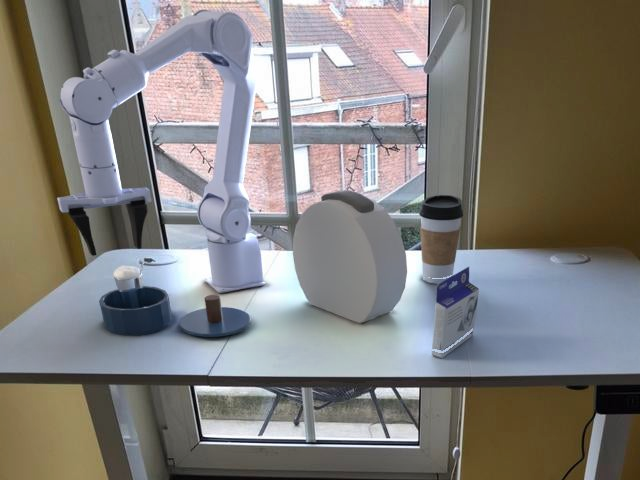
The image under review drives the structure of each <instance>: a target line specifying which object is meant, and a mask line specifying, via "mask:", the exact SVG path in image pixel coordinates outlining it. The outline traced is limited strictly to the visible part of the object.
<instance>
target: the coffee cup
mask: <svg viewBox="0 0 640 480" xmlns="http://www.w3.org/2000/svg"><path fill="white" fill-rule="evenodd" d="M462 202H463V201H462V198H460V197H459V196H455V195H451V194H435V195H432V196H428V197H426V198H424V199H423V200H422V201H421V206H420V209H419V212H418V215H419V217H420V218H421V219H420V228H419V229H420V249H421V250H420V251H421V264H422V265H421V266H422V267H421V268H422V269H421V271H422V280H423V281H424V282H426V283H428V284H429V283H430V284H436V285H438V284H440V283H441V282H443V281H445V280H446V279H448V278H446V279H432V278H443V277H447V276H450V275H452V274H453V275H454V269H455V262H456V257H457V250H458V245H459V239H460V232H461V219H462V218H463V217H464V210H463V204H462ZM453 275H452V276H453ZM425 276H426V277H425ZM428 277H430V278H428ZM449 278H450V277H449Z"/></svg>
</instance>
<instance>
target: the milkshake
mask: <svg viewBox="0 0 640 480" xmlns="http://www.w3.org/2000/svg"><path fill="white" fill-rule="evenodd" d="M143 266H144V262H142V263H141V266H140V268H138V267H136V266H134V265H120V266H119V267H117V268H115V270H114V271H113V278H114V281H115V284H116V288H117V289H118V291H119V295H120V298H121V302H122V305H123V309H136V308H142V307H145V301H144V292H143V286H144V281H143V271H142V270H143Z"/></svg>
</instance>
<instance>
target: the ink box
mask: <svg viewBox="0 0 640 480" xmlns="http://www.w3.org/2000/svg"><path fill="white" fill-rule="evenodd" d="M453 283H456V284H455V285H453V286H452V287H450V286H451V285H452V284H453ZM479 290H480V289H479V288H478V287H477V286H475V285H474V284H473V283H471V282H470V266H467V267H465V268H464V269H462V270H459V271H458V272H457V273H455V274H453V276H451V277H450V278H448V279H446V280H445V281H443V282H441V283H440V284H436V291H435V292H436V293H435V294H436V295H435V310H434V324H433V332H432V345H431V346H432V347H431V356H432V357H435V358H439V359H443V358H445V357H446V356H447V355H449V354H450V353H451V352H453V351H454V350H455V349H457V347H459V346H461V345H463V344H464V343H465V342H466V341H468V340H469V339H471V337H474V330H473V331H472V332H471V333H470V334H469V335H467V336H466V337H465V338H464V339H462V340H461V341H460V342H458V343H457V344H456V345H454V346H453V347H452V348H450V349H449V350H448V351H446V352H444V353H438V352H435V351H432V349H437V350H441V351H443V350H445V349H446V348H448V347H449V346H451V345H452V344H454V343H455V342H456V341H457V340H459V339H460V338H461V337H463V336H464V335H465V334H466V333H467V332H469V331H470V330H471V329H472V328H473V327H474V328H475V323H476V322H475V321H476V315H477V314H476V313H477V306H478V299H479Z"/></svg>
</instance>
